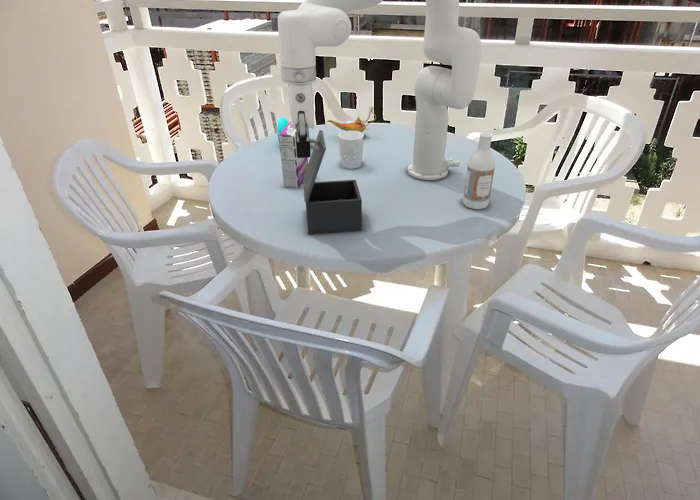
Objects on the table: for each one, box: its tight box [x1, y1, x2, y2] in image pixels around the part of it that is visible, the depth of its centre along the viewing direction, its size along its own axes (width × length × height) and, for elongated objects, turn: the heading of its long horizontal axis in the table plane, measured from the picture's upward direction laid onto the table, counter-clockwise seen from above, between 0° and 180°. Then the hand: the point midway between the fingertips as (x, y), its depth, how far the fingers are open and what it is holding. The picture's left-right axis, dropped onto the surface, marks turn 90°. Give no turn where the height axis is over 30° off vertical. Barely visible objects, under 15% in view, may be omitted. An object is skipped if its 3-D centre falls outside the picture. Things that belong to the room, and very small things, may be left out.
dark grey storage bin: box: [305, 179, 363, 235], centre depth 124 cm, size 14×12×9 cm
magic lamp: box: [326, 106, 377, 133], centre depth 173 cm, size 7×18×11 cm, turn 99°
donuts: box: [276, 116, 310, 142], centre depth 167 cm, size 10×10×10 cm
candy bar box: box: [277, 121, 309, 189], centre depth 142 cm, size 11×5×16 cm, turn 168°
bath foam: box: [462, 132, 496, 210], centre depth 128 cm, size 7×7×20 cm
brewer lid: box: [302, 129, 327, 203], centre depth 116 cm, size 14×12×6 cm
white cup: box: [338, 130, 364, 170], centre depth 153 cm, size 8×8×10 cm
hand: (303, 151), depth 115 cm, fingers closed on brewer lid, 5 cm apart
